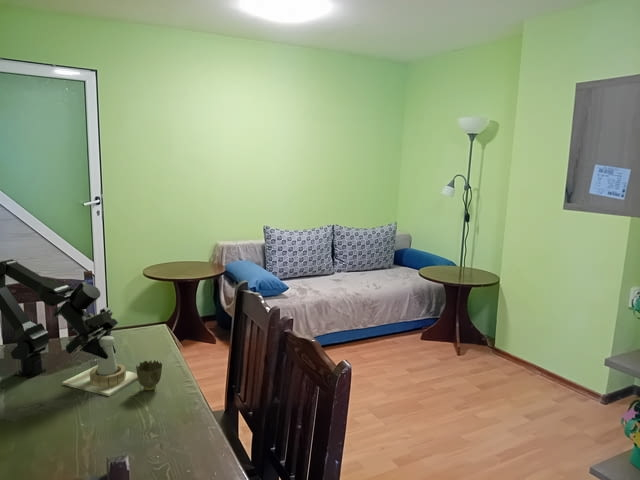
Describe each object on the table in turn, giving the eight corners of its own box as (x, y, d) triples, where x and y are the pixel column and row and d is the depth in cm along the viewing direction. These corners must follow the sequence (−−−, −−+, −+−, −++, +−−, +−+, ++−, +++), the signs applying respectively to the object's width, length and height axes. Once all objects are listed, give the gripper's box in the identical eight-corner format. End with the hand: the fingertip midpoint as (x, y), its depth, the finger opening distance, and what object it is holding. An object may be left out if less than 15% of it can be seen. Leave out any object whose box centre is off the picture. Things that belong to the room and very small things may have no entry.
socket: (62, 384, 142) (62, 373, 142) (98, 366, 155) (97, 356, 155) (109, 396, 136) (108, 384, 136) (142, 376, 149) (141, 365, 149)
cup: (154, 397, 137) (153, 371, 136) (131, 393, 138) (130, 368, 137) (167, 385, 144) (166, 361, 143) (145, 382, 145) (145, 358, 144)
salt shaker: (96, 374, 146) (95, 335, 144) (115, 371, 149) (115, 332, 147) (98, 382, 141) (98, 341, 139) (119, 378, 144) (118, 338, 142)
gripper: (73, 311, 133) (109, 351, 133) (112, 294, 151) (143, 330, 151) (49, 334, 135) (85, 374, 135) (90, 315, 153) (122, 350, 153)
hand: (111, 355), depth 144 cm, fingers closed on salt shaker, 3 cm apart
